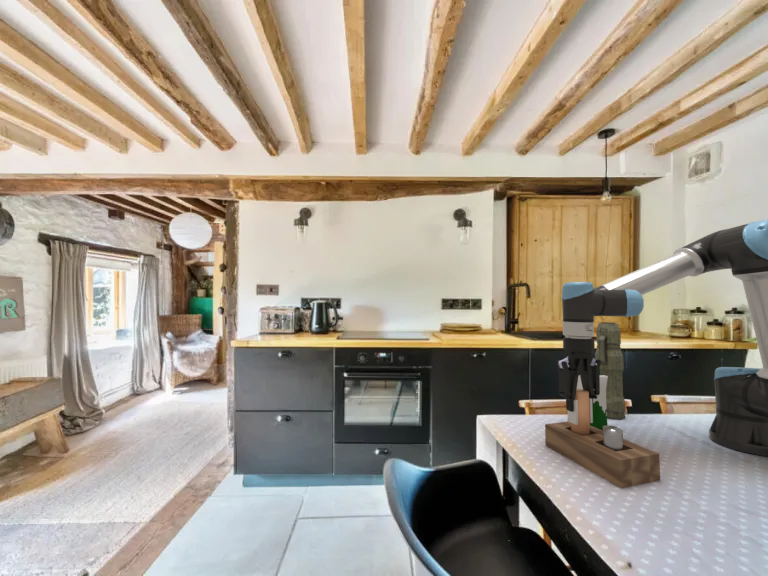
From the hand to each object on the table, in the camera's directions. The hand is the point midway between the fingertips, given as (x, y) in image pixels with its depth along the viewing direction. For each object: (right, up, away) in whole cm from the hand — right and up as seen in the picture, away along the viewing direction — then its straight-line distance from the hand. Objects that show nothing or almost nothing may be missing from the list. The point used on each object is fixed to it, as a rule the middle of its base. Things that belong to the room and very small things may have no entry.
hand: (580, 421), depth 87 cm
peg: (0, -7, 0) cm, 7 cm away
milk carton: (+16, -11, +20) cm, 28 cm away
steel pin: (+3, -8, -9) cm, 12 cm away
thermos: (+31, -11, +32) cm, 46 cm away
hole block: (+1, -9, -5) cm, 10 cm away
